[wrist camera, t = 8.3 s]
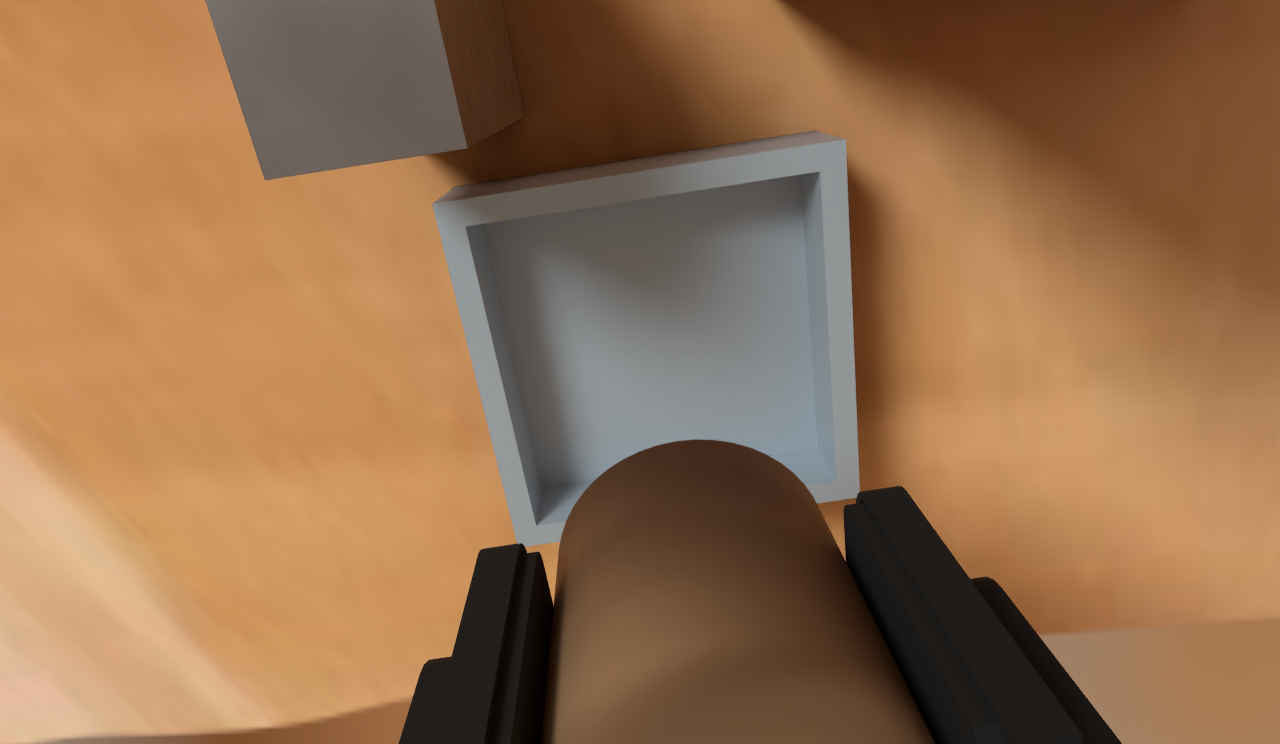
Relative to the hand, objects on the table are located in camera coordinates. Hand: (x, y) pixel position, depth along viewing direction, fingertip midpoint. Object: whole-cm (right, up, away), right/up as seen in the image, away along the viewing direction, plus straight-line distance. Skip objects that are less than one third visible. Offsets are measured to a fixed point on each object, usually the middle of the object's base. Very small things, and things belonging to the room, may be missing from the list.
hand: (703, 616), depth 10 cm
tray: (0, +4, +11) cm, 11 cm away
